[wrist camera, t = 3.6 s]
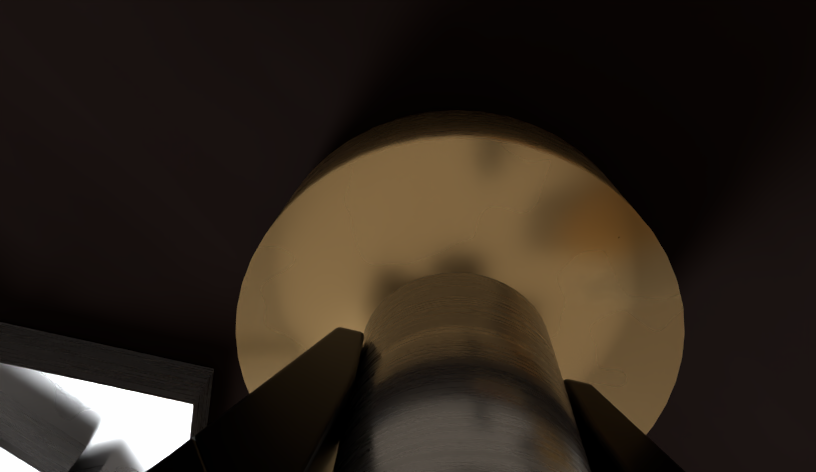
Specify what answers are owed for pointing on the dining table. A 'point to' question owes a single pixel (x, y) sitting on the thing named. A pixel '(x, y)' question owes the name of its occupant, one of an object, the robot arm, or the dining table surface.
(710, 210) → the dining table surface
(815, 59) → the dining table surface
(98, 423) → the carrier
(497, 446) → the gear
